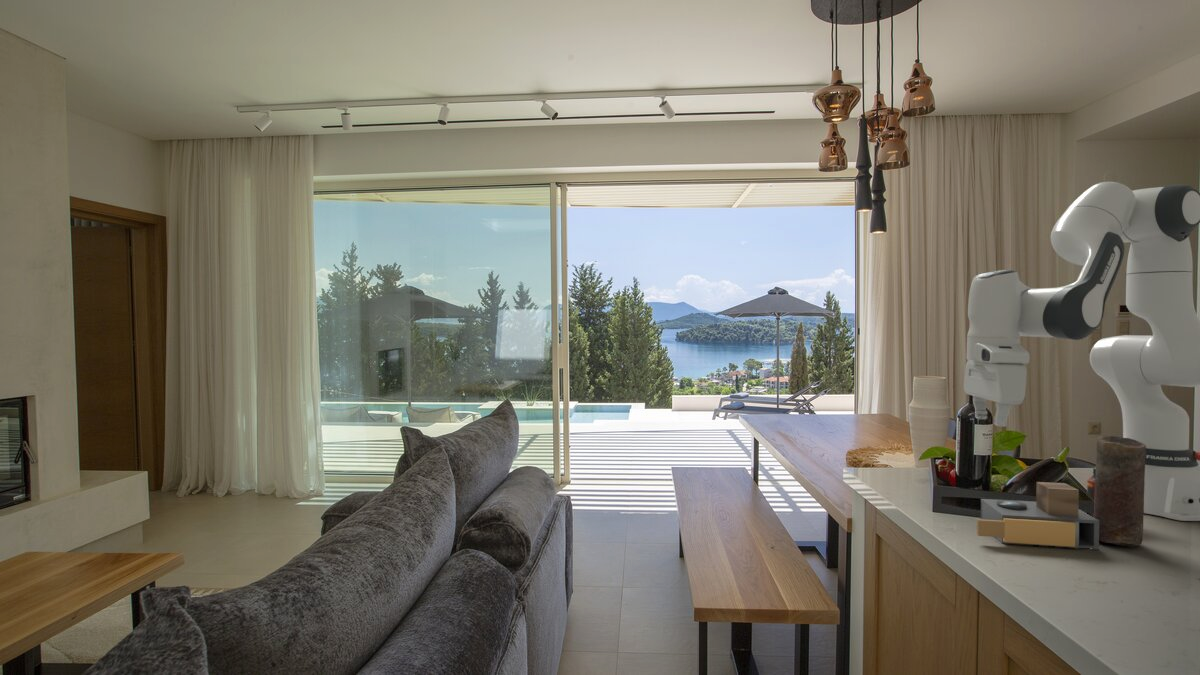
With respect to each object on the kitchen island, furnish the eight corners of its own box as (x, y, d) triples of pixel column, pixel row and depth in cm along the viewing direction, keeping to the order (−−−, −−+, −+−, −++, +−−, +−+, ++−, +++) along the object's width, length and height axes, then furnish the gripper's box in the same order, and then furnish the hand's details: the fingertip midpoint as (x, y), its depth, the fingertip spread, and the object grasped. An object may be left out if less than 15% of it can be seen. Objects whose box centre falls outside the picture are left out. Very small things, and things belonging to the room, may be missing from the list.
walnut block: (1036, 506, 123) (1036, 481, 123) (1064, 508, 122) (1065, 483, 122) (1048, 514, 118) (1048, 488, 118) (1078, 516, 117) (1078, 490, 117)
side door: (1077, 546, 115) (1077, 521, 115) (1079, 548, 114) (1080, 522, 114) (976, 540, 119) (976, 515, 119) (978, 541, 118) (978, 516, 118)
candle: (1136, 539, 120) (1138, 437, 119) (1150, 552, 113) (1152, 444, 113) (1087, 534, 123) (1088, 434, 122) (1098, 546, 116) (1100, 440, 116)
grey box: (1068, 530, 125) (1068, 500, 125) (1098, 549, 115) (1099, 517, 115) (980, 524, 129) (981, 495, 129) (1002, 543, 118) (1002, 511, 118)
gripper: (956, 350, 133) (954, 414, 133) (995, 353, 113) (993, 429, 113) (989, 351, 131) (987, 416, 132) (1034, 354, 111) (1032, 431, 112)
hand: (990, 422), depth 122 cm, fingers open, 8 cm apart
